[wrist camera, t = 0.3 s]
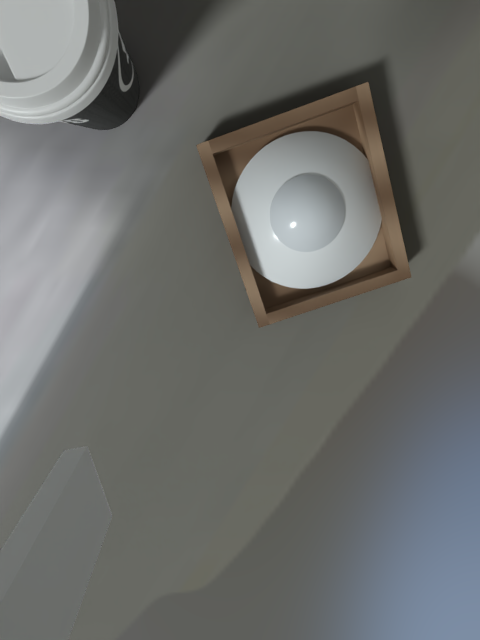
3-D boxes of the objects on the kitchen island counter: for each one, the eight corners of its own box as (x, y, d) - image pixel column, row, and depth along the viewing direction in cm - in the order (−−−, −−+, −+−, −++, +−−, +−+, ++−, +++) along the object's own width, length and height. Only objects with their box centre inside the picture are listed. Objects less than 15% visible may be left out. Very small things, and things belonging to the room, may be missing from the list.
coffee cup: (33, 14, 32) (-126, -134, 18) (157, 21, 32) (101, -119, 18) (45, 147, 35) (-84, 112, 20) (159, 152, 35) (112, 121, 21)
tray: (198, 149, 35) (196, 145, 32) (357, 90, 34) (368, 81, 31) (256, 318, 40) (259, 327, 37) (398, 271, 39) (411, 277, 36)
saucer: (209, 163, 34) (209, 162, 34) (360, 108, 33) (363, 106, 33) (258, 306, 38) (258, 308, 37) (394, 260, 37) (398, 261, 36)
